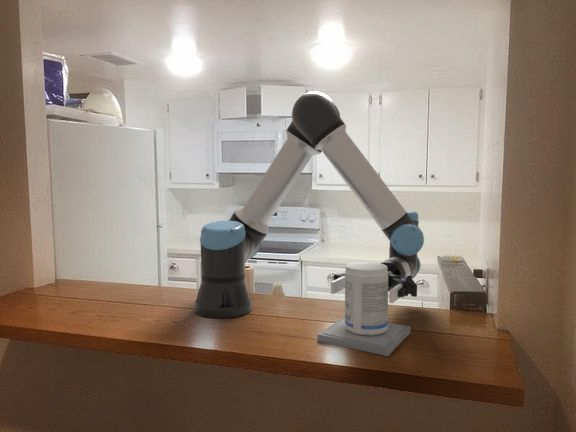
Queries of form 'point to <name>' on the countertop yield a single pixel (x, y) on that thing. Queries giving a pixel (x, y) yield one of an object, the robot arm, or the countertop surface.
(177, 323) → the countertop surface
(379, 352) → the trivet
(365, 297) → the supplement tub
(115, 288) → the countertop surface
